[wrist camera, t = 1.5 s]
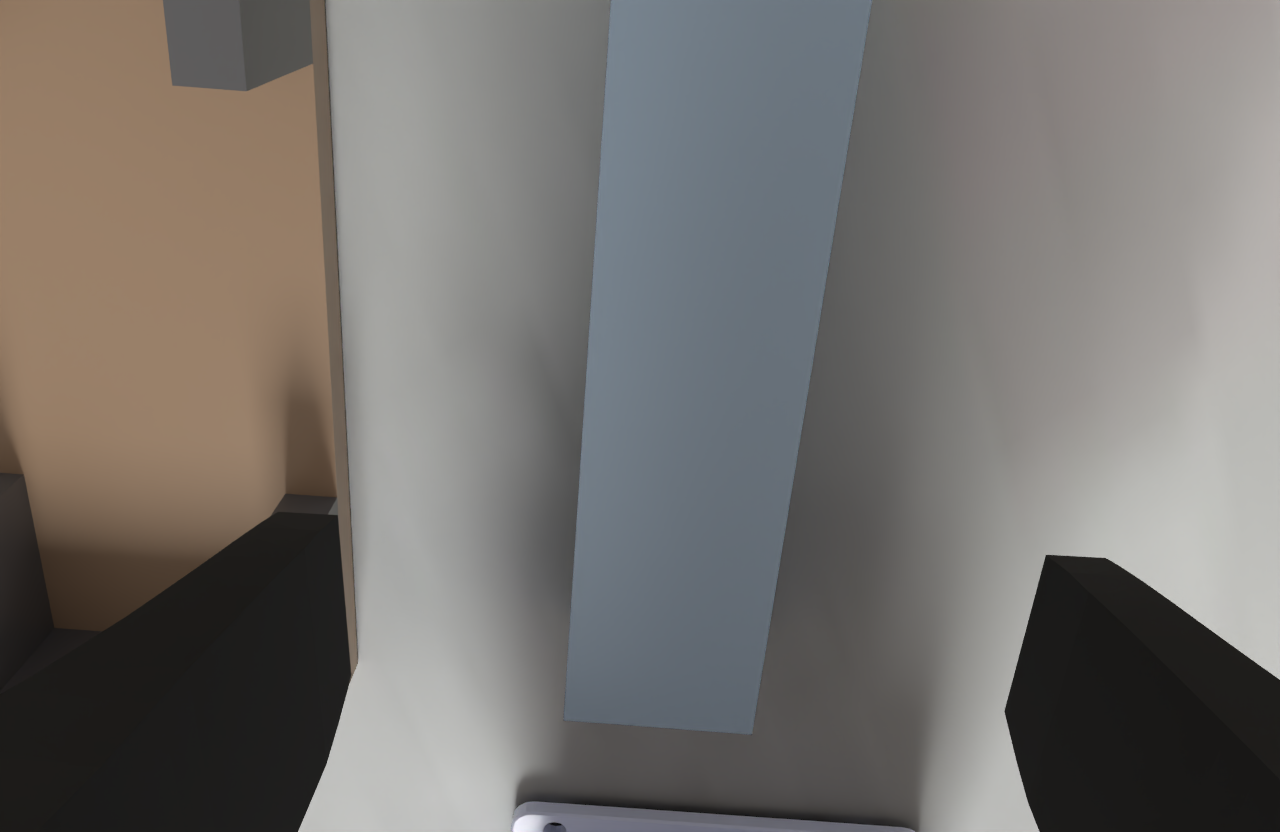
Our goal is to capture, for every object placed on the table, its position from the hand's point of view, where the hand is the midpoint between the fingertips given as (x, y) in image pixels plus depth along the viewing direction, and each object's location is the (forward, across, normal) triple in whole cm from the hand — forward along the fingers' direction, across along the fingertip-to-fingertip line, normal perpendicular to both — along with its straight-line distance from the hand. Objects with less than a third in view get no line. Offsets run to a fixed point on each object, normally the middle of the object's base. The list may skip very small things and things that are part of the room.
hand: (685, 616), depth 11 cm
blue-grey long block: (+10, 0, 0) cm, 10 cm away
